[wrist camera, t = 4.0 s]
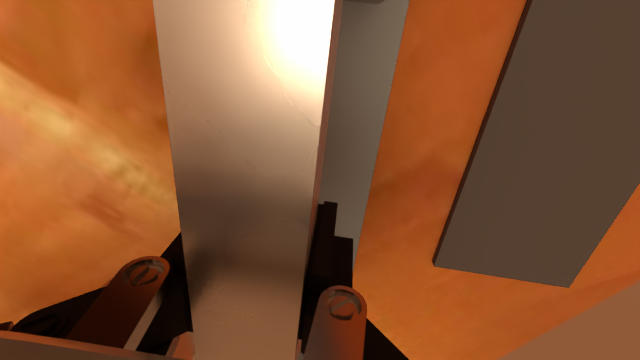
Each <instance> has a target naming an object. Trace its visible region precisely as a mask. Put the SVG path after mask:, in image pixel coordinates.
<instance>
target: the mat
mask: <svg viewBox="0 0 640 360" xmlns="http://www.w3.org/2000/svg"><path fill="white" fill-rule="evenodd" d="M639 183H640V0H527V2H526V5H525V8H524V11H523V13H522V16H521V19H520V22H519V24H518V27H517V30H516V33H515V35H514V38H513V41H512V44H511V46H510V49H509V52H508V55H507V57H506V60H505V63H504V66H503V68H502V71H501V74H500V77H499V79H498V82H497V85H496V88H495V90H494V93H493V96H492V98H491V101H490V104H489V107H488V109H487V112H486V115H485V118H484V120H483V123H482V126H481V129H480V131H479V134H478V137H477V140H476V142H475V145H474V148H473V151H472V153H471V156H470V159H469V162H468V164H467V167H466V170H465V173H464V175H463V178H462V181H461V184H460V186H459V189H458V192H457V195H456V197H455V200H454V203H453V206H452V208H451V211H450V214H449V216H448V219H447V222H446V225H445V227H444V230H443V233H442V236H441V238H440V241H439V244H438V247H437V249H436V252H435V255H434V258H433V260H432V262H433V265H434V266H435V267H441V268H447V269H453V270H460V271H466V272H472V273H478V274H485V275H491V276H497V277H503V278H510V279H516V280H522V281H528V282H535V283H541V284H547V285H553V286H560V287H566V288H569V287H570V285H571V284H572V282H573V281H574V279H575V278H576V276H577V275H578V273H579V272H580V270H581V269H582V267H583V266H584V265H585V263H586V262H587V260H588V259H589V257H590V256H591V254H592V253H593V251H594V250H595V248H596V247H597V245H598V244H599V242H600V241H601V239H602V238H603V236H604V235H605V233H606V232H607V231H608V229H609V228H610V226H611V225H612V223H613V222H614V220H615V219H616V217H617V216H618V214H619V213H620V211H621V210H622V208H623V207H624V205H625V204H626V202H627V201H628V199H629V198H630V197H631V195H632V194H633V192H634V191H635V189H636V188H637V186H638V185H639Z"/></svg>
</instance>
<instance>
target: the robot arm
mask: <svg viewBox="0 0 640 360" xmlns="http://www.w3.org/2000/svg"><path fill="white" fill-rule="evenodd" d="M337 206H338V203H336V202H329V201H324V204H318V211H317V219H316V225H315V230H314V235H313V240H312V245H311V250H310V255H309V259H308V264H307V270H306V276H305V284H304V293H303V302H302V311H301V319H300V328H299V337H298V339H299V340H302V343H301V352H302V354H303V355H304V357H303V360H409V359H408V358H407V357H406V356H405V355H404V354H403V353H402V352H401V351H400V350H399V349H398V348H397V347H396V346H395V345H394V344H393V343H391V342H390V341H389V340H388V339H387V338H386V337H385V336H384V335H383V334H382V333H381V332H380V331H379V330H378V329H377V328H376V327H375V326H374V325H373V324H372V323H371V322H370V321H369V320H368V319H367V318H366V316H367V305H366V302H365V300H364V298H363V297H362V295H361V294H360V293H359V292H357V291H356V290H354V289H352V279H353V238H347V237H340V236H334V234H335V225H336V216H337ZM0 360H197V357H196V349H195V341H194V333H193V324H192V316H191V308H190V300H189V292H188V284H187V276H186V267H185V259H184V251H183V243H182V235H181V232H180V233H179V235H178V236H177V237H176V238H175V240H174V241H173V242H172V243H171V244H170V246H169V247H168V248H167V249H166V250H165V252H164V253H163V254H162V255H161V256H160V257H157V256H146V257H141V258H138V259H135V260H132V261H131V262H129V263H127V264H126V265H124V266H123V267H122V268H121V269H120V270H119V271H118V273H117V274H116V275H115V276H114V278H113V279H112V280H111V281H109V282H107V283H106V284H105V285H104V286H103V287H102V288H99V289H97V290H94V291H91V292H88V293H85V294H83V295H80V296H77V297H74V298H71V299H69V300H66V301H63V302H60V303H57V304H55V305H52V306H49V307H46V308H43V309H41V310H38V311H36V312H34V313H32V314H29V315H28V316H26V317H25V318H23V319H22V320H20V321H19V322H18V323H17V324H16V325H14V324H13V322H12V321H10V322H5V323H0Z"/></svg>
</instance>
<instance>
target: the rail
mask: <svg viewBox="0 0 640 360" xmlns="http://www.w3.org/2000/svg"><path fill="white" fill-rule="evenodd" d="M342 6H343V0H153V7H154V15H155V23H156V31H157V39H158V47H159V55H160V64H161V72H162V80H163V88H164V96H165V104H166V113H167V121H168V129H169V137H170V145H171V153H172V161H173V170H174V178H175V186H176V194H177V202H178V210H179V218H180V227H181V235H182V243H183V251H184V259H185V267H186V276H187V284H188V292H189V300H190V308H191V316H192V324H193V333H194V341H195V349H196V357H197V360H299V359H300V351H301V342H302V340H299V339H298V337H299V328H300V319H301V311H302V302H303V293H304V284H305V276H306V270H307V264H308V259H309V255H310V250H311V245H312V240H313V235H314V230H315V225H316V219H317V211H318V203H319V195H320V186H321V178H322V170H323V162H324V154H325V145H326V137H327V129H328V121H329V112H330V104H331V96H332V88H333V80H334V71H335V63H336V55H337V47H338V39H339V30H340V22H341V14H342Z"/></svg>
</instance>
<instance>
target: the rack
mask: <svg viewBox="0 0 640 360" xmlns="http://www.w3.org/2000/svg"><path fill="white" fill-rule="evenodd" d="M408 4H409V0H343V6H342V14H341V22H340V30H339V39H338V47H337V55H336V63H335V71H334V80H333V88H332V96H331V104H330V112H329V121H328V129H327V137H326V145H325V154H324V162H323V170H322V178H321V186H320V195H319V203H318V204H324V201H329V202H336V203H338V206H337V216H336V225H335V234H334V236H340V237H347V238H353V268H354V263H355V258H356V254H357V249H358V244H359V239H360V234H361V230H362V225H363V220H364V215H365V211H366V206H367V201H368V196H369V191H370V187H371V182H372V177H373V172H374V167H375V163H376V158H377V153H378V148H379V143H380V139H381V134H382V129H383V124H384V119H385V115H386V110H387V105H388V100H389V95H390V91H391V86H392V81H393V76H394V71H395V67H396V62H397V57H398V52H399V47H400V43H401V38H402V33H403V28H404V23H405V19H406V14H407V9H408ZM301 343H302V342H301ZM303 357H304V355H303V354H302V352H301V351H300V359H299V360H303Z"/></svg>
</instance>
